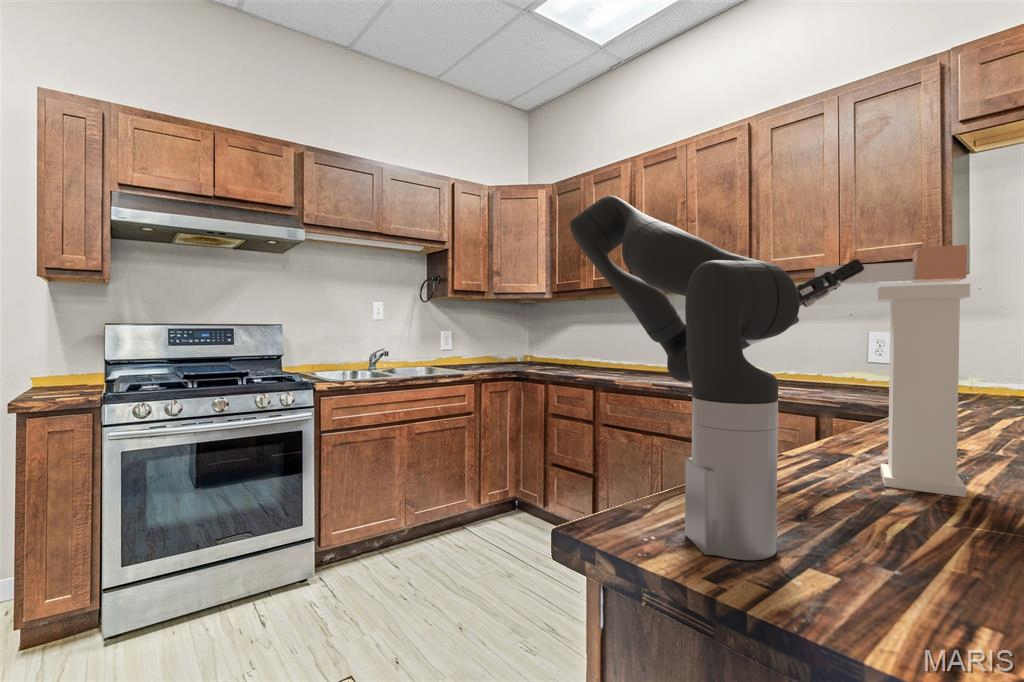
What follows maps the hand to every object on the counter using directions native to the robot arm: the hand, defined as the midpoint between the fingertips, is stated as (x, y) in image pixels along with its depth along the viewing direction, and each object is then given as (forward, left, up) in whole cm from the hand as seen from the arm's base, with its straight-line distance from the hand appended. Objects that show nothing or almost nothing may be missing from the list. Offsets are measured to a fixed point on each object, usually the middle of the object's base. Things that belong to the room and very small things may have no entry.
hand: (860, 265), depth 89 cm
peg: (+3, -2, -3) cm, 4 cm away
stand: (+6, -5, -36) cm, 37 cm away
